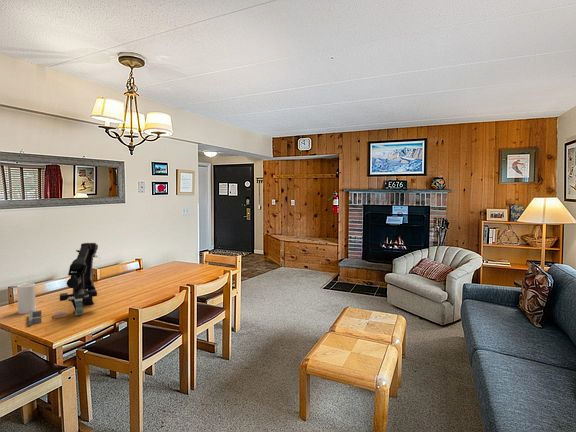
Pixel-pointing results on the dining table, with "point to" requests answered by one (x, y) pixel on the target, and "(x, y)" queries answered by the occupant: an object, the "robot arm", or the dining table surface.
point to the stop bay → (36, 319)
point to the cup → (26, 298)
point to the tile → (59, 314)
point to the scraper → (78, 307)
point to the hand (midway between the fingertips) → (78, 309)
